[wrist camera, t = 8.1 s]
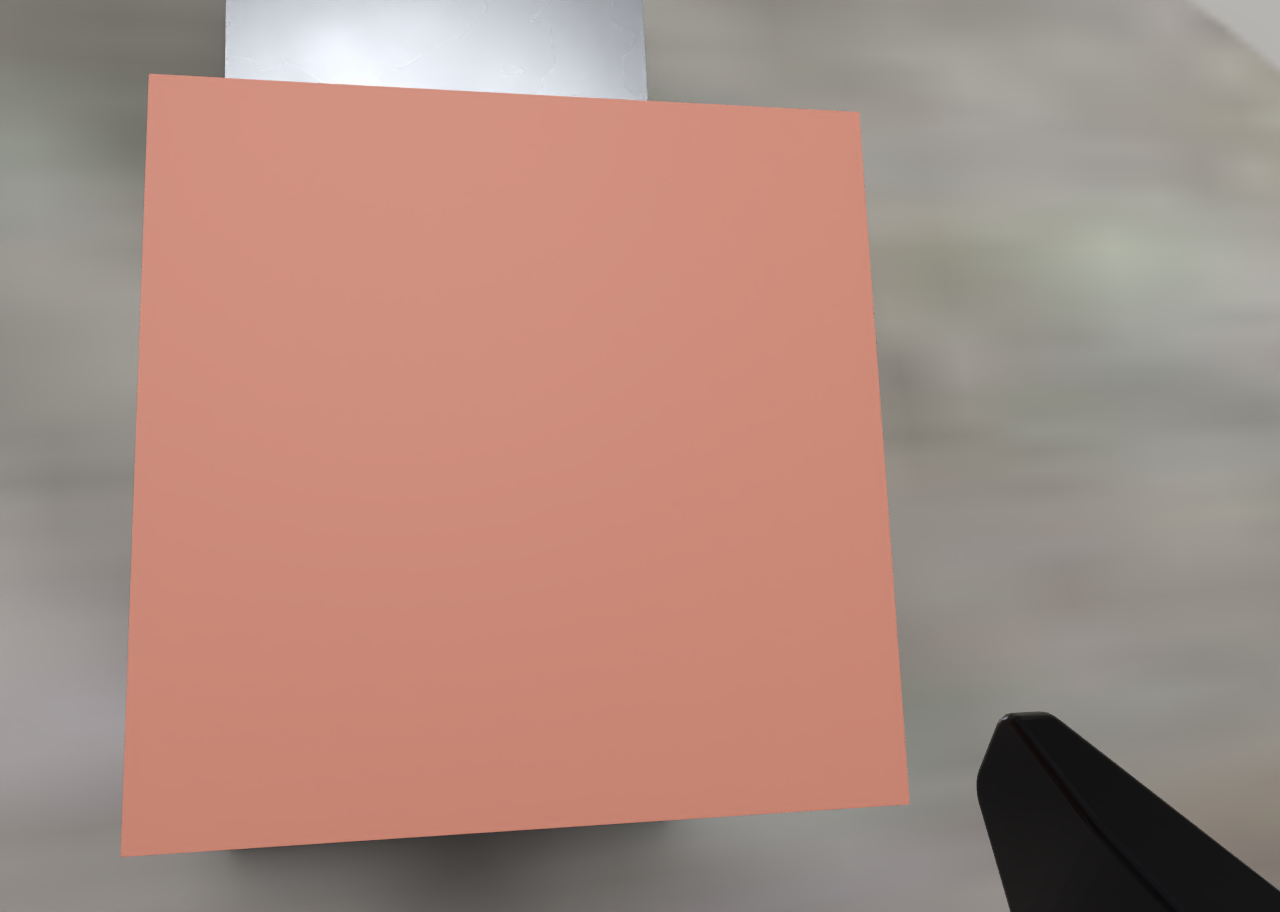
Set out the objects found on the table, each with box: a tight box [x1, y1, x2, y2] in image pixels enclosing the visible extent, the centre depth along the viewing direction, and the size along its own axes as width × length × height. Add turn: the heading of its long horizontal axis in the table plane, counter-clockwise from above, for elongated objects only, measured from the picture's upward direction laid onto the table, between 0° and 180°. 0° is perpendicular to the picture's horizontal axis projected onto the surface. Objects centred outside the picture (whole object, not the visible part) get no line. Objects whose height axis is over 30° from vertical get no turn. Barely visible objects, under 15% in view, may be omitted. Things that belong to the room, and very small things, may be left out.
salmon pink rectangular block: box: [121, 74, 910, 857], centre depth 12 cm, size 4×4×12 cm
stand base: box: [225, 0, 648, 101], centre depth 20 cm, size 16×8×4 cm, turn 3°
